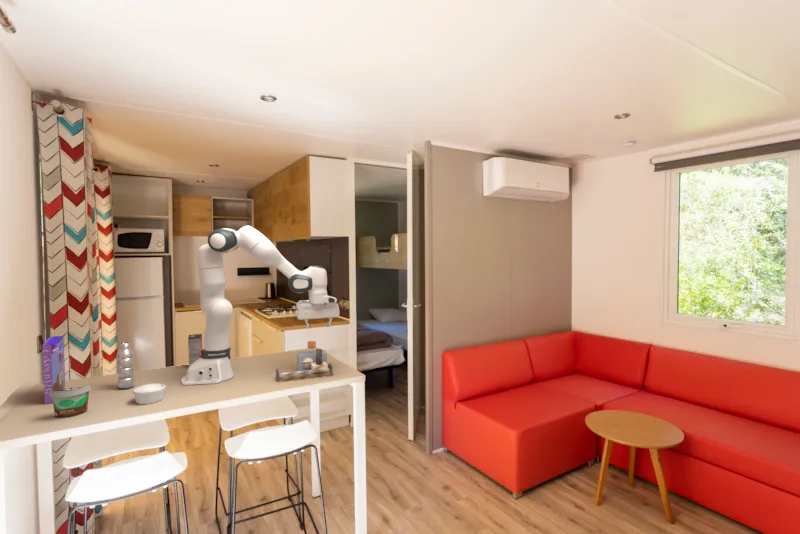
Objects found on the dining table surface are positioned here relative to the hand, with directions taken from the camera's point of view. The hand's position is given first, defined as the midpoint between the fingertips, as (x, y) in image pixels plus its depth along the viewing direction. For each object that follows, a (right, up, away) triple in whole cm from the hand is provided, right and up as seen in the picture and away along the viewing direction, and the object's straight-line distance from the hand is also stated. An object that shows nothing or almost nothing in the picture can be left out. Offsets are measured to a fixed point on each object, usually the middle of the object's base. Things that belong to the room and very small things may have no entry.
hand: (318, 327), depth 197 cm
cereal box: (-104, -25, -28) cm, 111 cm away
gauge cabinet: (-5, -23, +9) cm, 25 cm away
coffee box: (-68, -23, +17) cm, 74 cm away
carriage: (0, -22, +1) cm, 22 cm away
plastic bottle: (-82, -24, -17) cm, 87 cm away
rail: (-7, -24, -2) cm, 24 cm away
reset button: (-5, -12, +9) cm, 15 cm away
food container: (-82, -26, -47) cm, 98 cm away
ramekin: (-62, -25, -32) cm, 74 cm away
